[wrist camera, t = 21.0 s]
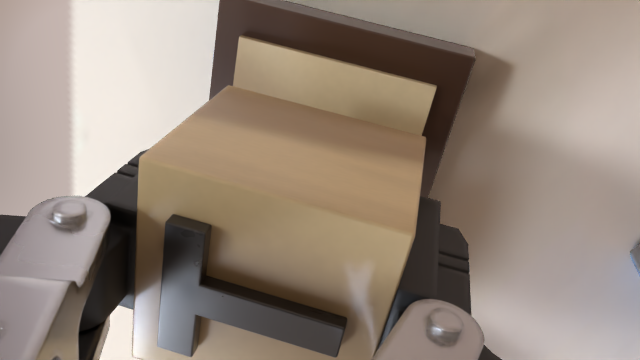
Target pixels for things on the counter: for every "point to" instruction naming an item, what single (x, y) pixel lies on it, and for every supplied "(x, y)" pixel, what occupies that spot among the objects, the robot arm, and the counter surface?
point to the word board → (344, 68)
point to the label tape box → (636, 257)
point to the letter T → (272, 232)
